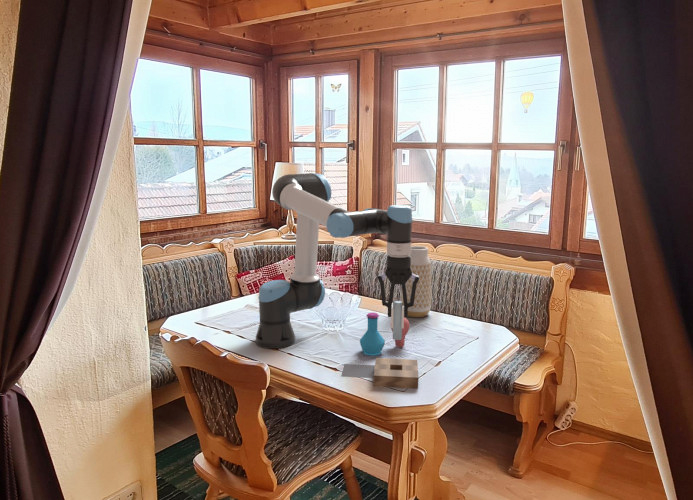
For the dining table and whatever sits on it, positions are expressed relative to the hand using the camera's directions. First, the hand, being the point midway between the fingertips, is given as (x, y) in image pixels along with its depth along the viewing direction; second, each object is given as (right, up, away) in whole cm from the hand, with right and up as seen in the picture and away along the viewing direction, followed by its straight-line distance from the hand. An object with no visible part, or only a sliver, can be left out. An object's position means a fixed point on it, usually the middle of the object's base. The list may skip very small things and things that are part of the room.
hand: (397, 326), depth 170 cm
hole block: (0, -18, +4) cm, 18 cm away
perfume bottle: (-7, -14, +25) cm, 29 cm away
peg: (0, -4, +1) cm, 4 cm away
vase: (+15, -5, +69) cm, 71 cm away
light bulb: (+4, -12, +31) cm, 34 cm away
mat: (-12, -17, +9) cm, 22 cm away
